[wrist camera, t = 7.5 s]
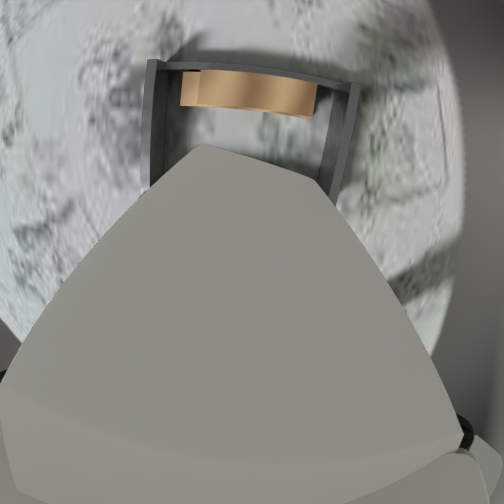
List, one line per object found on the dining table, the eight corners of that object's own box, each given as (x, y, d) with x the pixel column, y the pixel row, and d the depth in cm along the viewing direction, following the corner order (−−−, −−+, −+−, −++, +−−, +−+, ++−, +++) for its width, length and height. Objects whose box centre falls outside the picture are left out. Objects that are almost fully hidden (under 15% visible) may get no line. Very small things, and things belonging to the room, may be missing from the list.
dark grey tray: (344, 86, 29) (364, 84, 23) (319, 206, 39) (332, 227, 33) (162, 65, 28) (144, 58, 22) (155, 189, 37) (138, 207, 31)
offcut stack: (312, 86, 30) (323, 84, 25) (308, 118, 32) (317, 121, 28) (189, 73, 29) (179, 68, 24) (186, 105, 31) (176, 106, 27)
